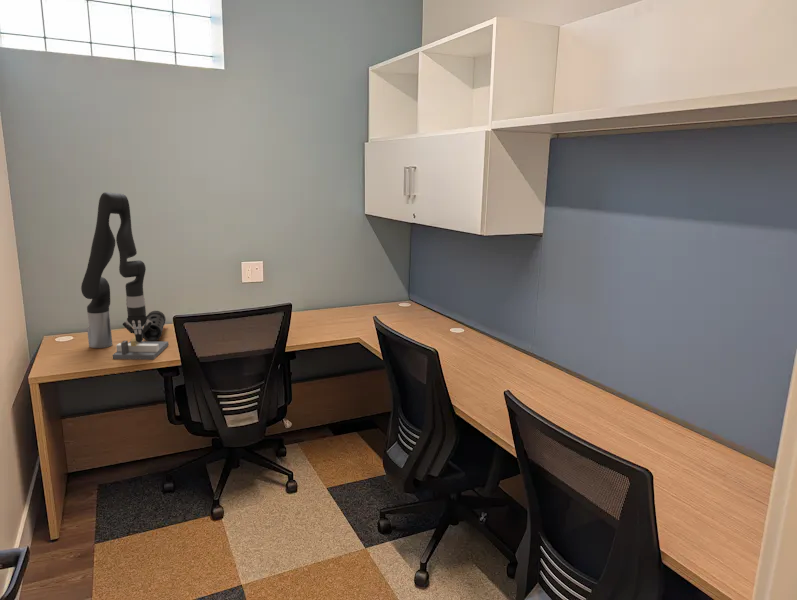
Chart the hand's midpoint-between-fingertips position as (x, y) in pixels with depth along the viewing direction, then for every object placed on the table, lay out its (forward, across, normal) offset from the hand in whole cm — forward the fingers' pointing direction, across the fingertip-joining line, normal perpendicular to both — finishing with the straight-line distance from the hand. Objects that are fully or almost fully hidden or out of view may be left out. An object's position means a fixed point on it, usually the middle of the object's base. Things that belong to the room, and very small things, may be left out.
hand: (139, 341), depth 257 cm
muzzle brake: (+7, +1, -32) cm, 33 cm away
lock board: (+7, +1, -6) cm, 9 cm away
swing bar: (+2, +3, -4) cm, 5 cm away
